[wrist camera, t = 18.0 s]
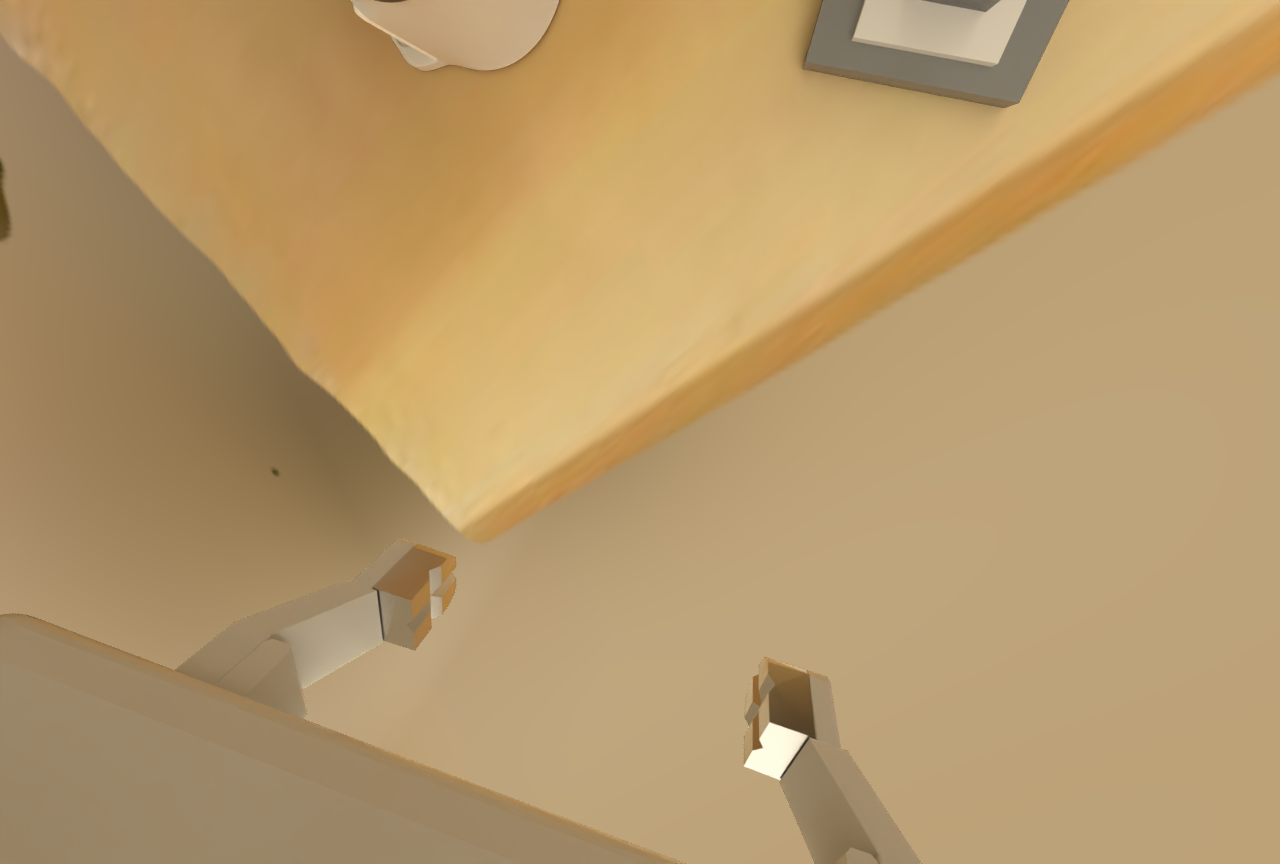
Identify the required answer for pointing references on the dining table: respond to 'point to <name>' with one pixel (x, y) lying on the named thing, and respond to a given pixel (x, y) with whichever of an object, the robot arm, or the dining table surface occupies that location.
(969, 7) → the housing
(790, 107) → the dining table surface
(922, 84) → the press
